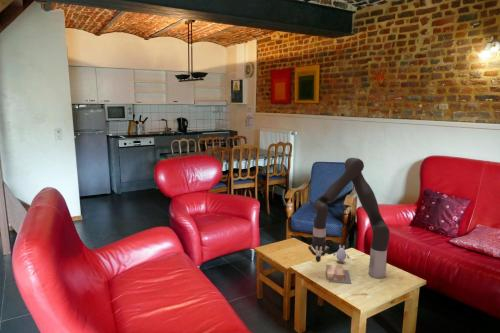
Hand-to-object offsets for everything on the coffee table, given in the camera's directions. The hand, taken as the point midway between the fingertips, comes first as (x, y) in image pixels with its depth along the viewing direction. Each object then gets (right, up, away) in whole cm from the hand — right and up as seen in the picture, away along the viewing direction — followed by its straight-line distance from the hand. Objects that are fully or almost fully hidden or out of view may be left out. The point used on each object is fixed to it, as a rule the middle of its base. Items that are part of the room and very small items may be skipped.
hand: (318, 261), depth 216 cm
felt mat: (+13, -9, 0) cm, 15 cm away
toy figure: (+18, -6, +18) cm, 26 cm away
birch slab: (+5, -6, +1) cm, 8 cm away
